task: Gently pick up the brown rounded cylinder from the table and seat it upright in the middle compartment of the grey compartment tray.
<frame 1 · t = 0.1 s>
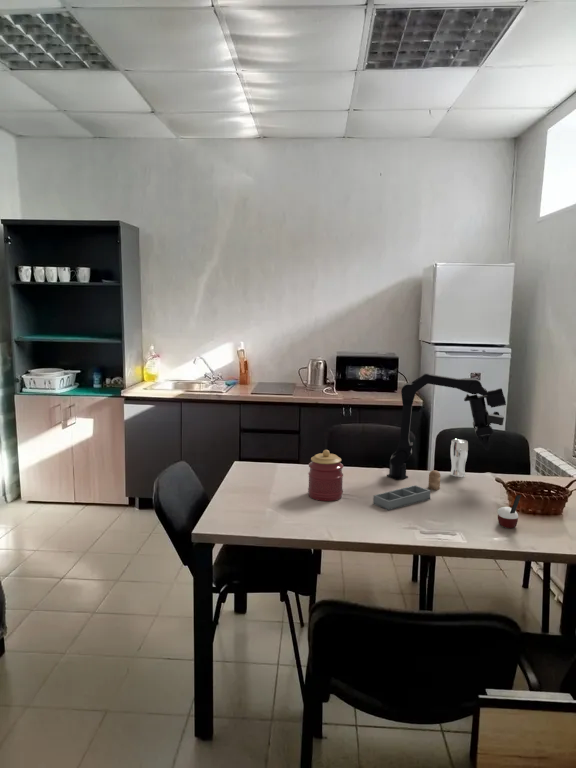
hand: (486, 447, 217), 15 cm above the table, tool pointing down, fingers open, 9 cm apart
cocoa: (507, 527, 177), on the table
grey compartment tray: (402, 501, 199), on the table
beer glass: (457, 475, 232), on the table
brown rounded cylinder: (434, 488, 215), on the table
canister: (325, 496, 204), on the table
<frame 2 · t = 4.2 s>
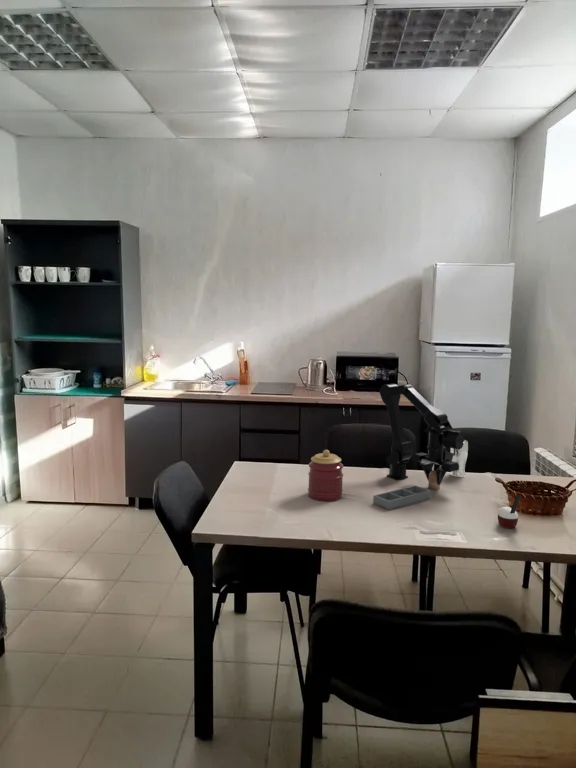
hand: (434, 483, 214), 2 cm above the table, tool pointing down, fingers closed on brown rounded cylinder, 4 cm apart
brown rounded cylinder: (434, 488, 215), on the table, touching gripper
everything else where it was.
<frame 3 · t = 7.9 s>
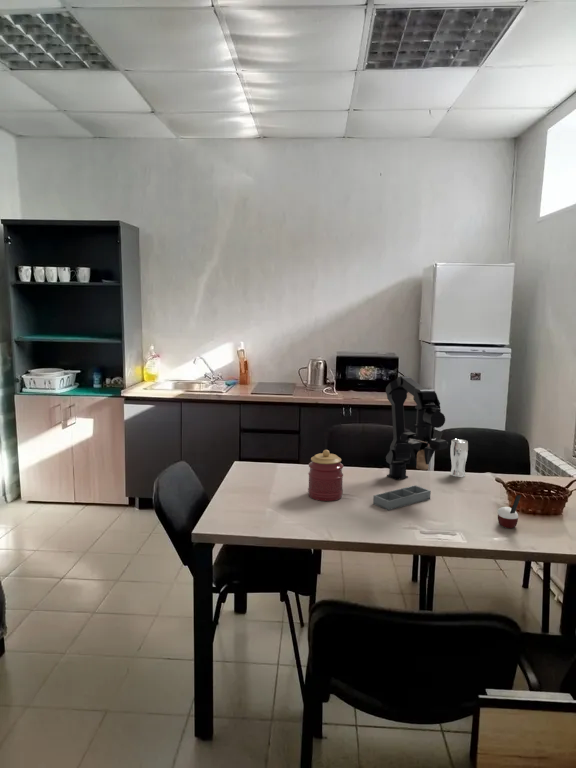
hand: (422, 462, 206), 12 cm above the table, tool pointing down, fingers closed on brown rounded cylinder, 4 cm apart
brown rounded cylinder: (422, 468, 206), point 10 cm above the table, touching gripper
everything else where it was.
when the fingers open (4 cm above the table, at t = 11.7 s): brown rounded cylinder drops 1 cm, resting on grey compartment tray.
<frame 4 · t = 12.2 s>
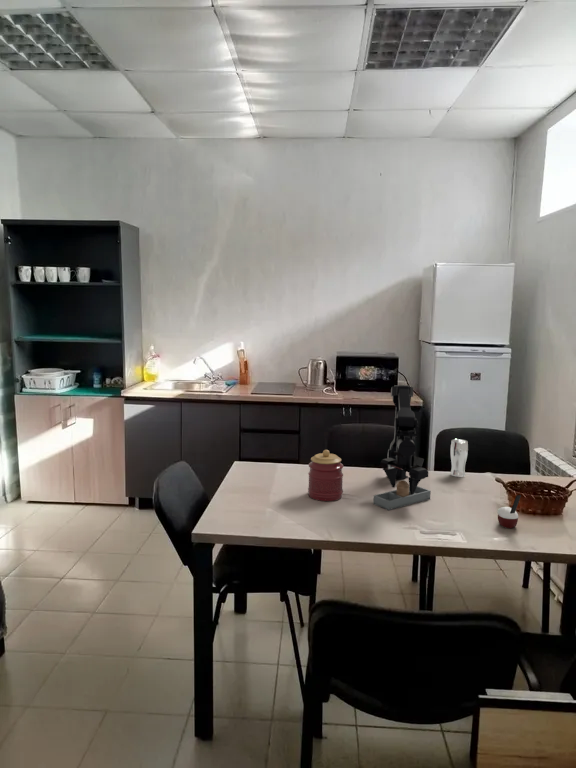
hand: (402, 490, 198), 4 cm above the table, tool pointing down, fingers open, 9 cm apart
brown rounded cylinder: (402, 499, 199), point 1 cm above the table, touching grey compartment tray
everything else where it was.
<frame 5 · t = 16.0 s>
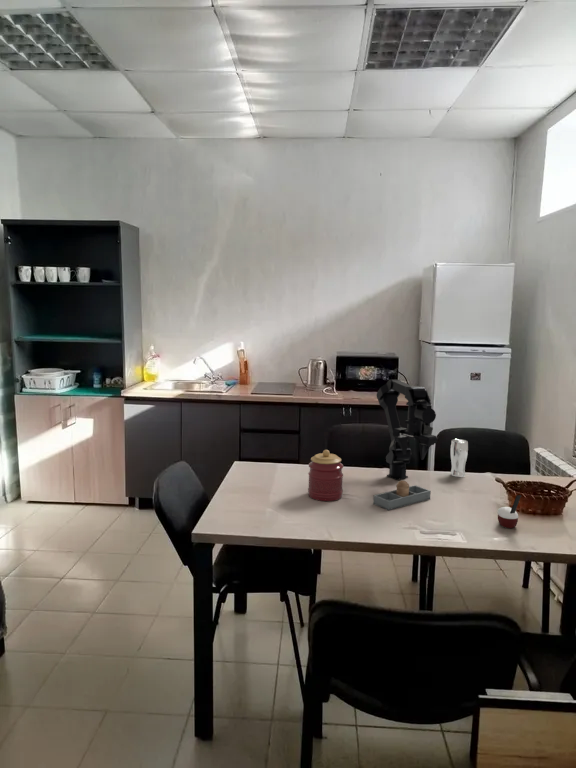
hand: (413, 457, 214), 12 cm above the table, tool pointing down, fingers open, 9 cm apart
nothing on the table moved.
at the end: brown rounded cylinder 0.0 cm off-centre on the grey compartment tray, point 0.6 cm above the grey compartment tray's base; brown rounded cylinder tilted 0°; the gripper is holding nothing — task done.
